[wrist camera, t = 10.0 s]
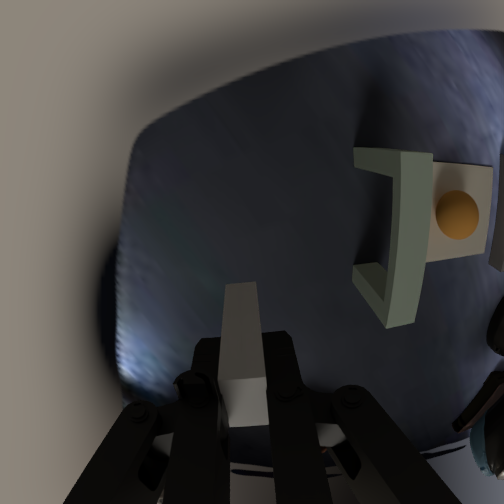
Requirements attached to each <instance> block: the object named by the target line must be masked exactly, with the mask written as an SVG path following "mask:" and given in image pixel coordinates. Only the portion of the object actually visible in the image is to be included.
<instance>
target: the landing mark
mask: <svg viewBox="0 0 504 504" xmlns="http://www.w3.org/2000/svg"><path fill="white" fill-rule="evenodd" d="M492 179H493V167H486V166H477V165H467V164H456V163H443V162H433V185H432V206H431V220H430V231H429V240H428V248H427V256H426V262H431V261H437V260H444V259H450V258H457V257H463V256H469V255H475V254H481V253H484V250H485V244H486V238H487V232H488V225H489V216H490V207H491V196H492ZM452 190H460V191H464V192H466V193H467V194H469V195H470V196H471V197H472V198H473V199H474V201H475V202H476V204H477V207H478V210H479V222H478V225H477V228H476V230H475V231H474V232H473V233H472V234H471V235H470V236H469V237H467V238H465V239H461V240H456V239H451V238H449V237H448V236H446V235H445V234H444V233H443V232H442V231H441V230H440V228H439V226H438V224H437V221H436V215H435V212H436V206H437V203H438V201H439V200H440V198H441V197H442V196H443V195H444V194H445V193H447V192H449V191H452Z"/></svg>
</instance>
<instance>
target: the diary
mask: <svg viewBox="0 0 504 504" xmlns="http://www.w3.org/2000/svg"><path fill="white" fill-rule="evenodd" d="M483 384H484V386H483V387H482V388H481V390H480V391H479V393H478V394H477V395H476V397H475V398H474V399H473V400H472V402H471V403H470V404H469V406H468V407H467V408H466V409H465V411H464V412H463V413H462V414H461V417H459V418H458V421H456V422H453V423H452V427H453V429H454V431H456V432H457V433H460V432H463V431H465V430H468V429H470V428H472V427H473V425H474V424H475V423H476V422H477V421H478V420H479V419H480V418H481V417H482V416H483V415H484V413H485V411H486V410H487V409H489V408H490V407H491V406H492V405H493V404H494V403H495V402H496V401H497V400H498V399H499V398H500V397H501V396H502V395H503V394H504V371H503V372H501V371H494V372H491V373H490V375H489V376H488V378H487V379H486V381H485V382H484V383H483Z"/></svg>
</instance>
